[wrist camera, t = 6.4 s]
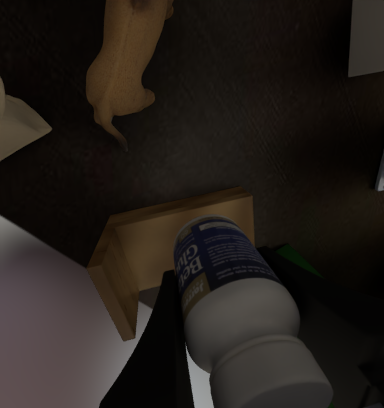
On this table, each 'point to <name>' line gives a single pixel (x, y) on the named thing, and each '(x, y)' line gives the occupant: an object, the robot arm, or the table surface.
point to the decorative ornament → (18, 124)
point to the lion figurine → (125, 60)
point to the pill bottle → (242, 321)
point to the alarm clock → (366, 37)
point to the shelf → (153, 248)
